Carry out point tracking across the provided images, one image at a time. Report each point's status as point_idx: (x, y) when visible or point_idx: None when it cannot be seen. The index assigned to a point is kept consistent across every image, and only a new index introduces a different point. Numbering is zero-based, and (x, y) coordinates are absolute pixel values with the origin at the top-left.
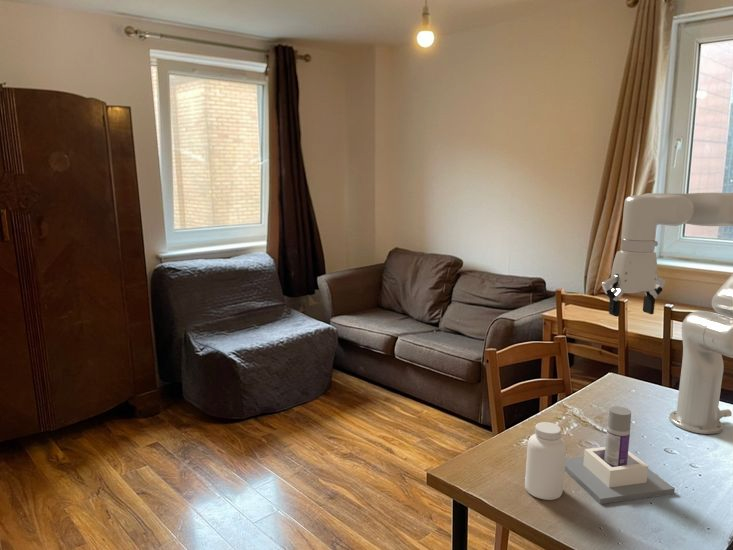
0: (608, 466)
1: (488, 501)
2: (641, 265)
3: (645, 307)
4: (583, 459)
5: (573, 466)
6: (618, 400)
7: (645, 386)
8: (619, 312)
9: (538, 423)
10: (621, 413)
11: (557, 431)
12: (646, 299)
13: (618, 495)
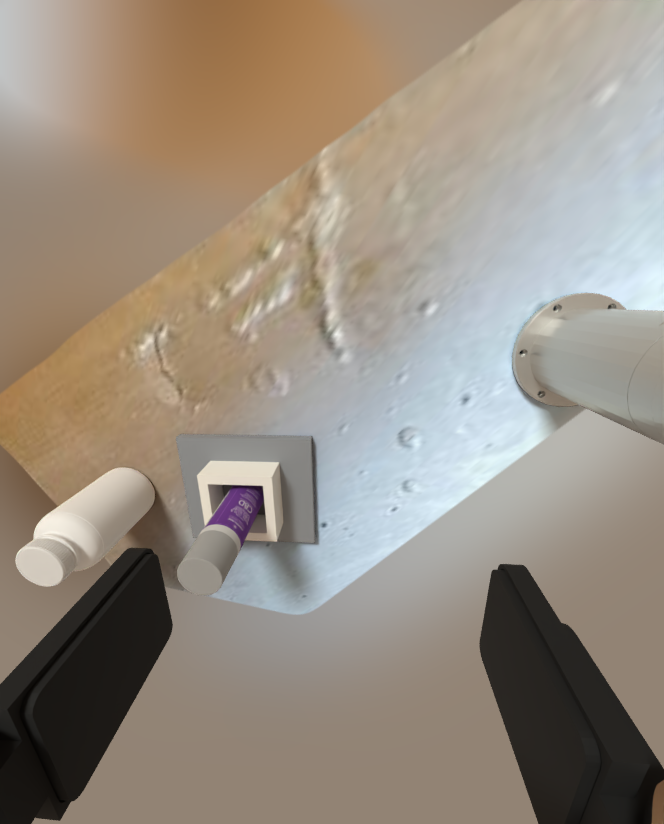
0: None
1: (47, 494)
2: None
3: (507, 634)
4: (218, 446)
5: (191, 461)
6: (494, 169)
7: None
8: (155, 661)
9: (22, 551)
10: (194, 588)
11: (53, 582)
12: (558, 756)
13: None
